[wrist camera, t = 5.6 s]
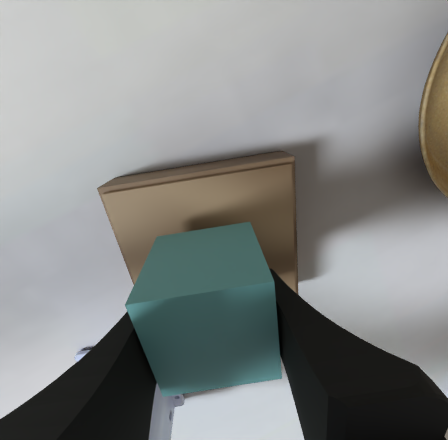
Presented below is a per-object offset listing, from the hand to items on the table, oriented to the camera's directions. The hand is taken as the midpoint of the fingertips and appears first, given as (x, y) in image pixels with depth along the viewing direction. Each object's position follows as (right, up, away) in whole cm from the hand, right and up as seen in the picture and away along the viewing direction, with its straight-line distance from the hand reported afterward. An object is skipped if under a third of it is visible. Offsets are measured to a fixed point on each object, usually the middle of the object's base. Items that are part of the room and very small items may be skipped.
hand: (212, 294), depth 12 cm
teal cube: (0, +1, +2) cm, 2 cm away
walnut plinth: (0, +2, +6) cm, 6 cm away
